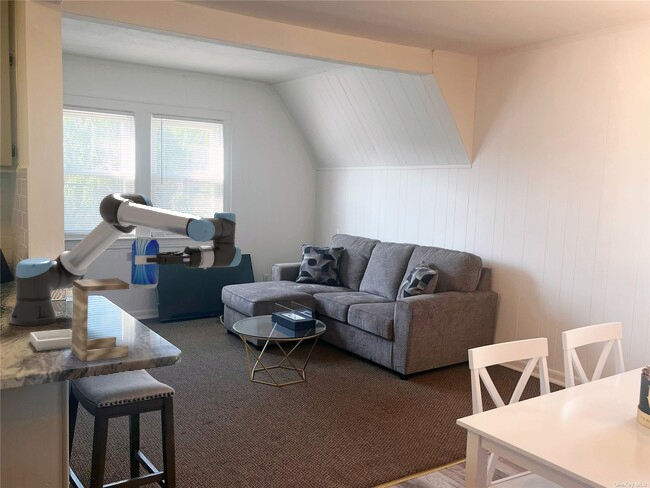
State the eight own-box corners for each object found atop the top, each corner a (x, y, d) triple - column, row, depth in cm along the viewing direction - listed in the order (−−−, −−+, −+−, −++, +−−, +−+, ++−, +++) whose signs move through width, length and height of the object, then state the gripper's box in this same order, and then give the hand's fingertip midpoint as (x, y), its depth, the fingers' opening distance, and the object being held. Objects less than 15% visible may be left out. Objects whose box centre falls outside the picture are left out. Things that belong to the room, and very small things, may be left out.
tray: (30, 341, 182) (30, 332, 182) (69, 337, 190) (70, 328, 190) (37, 350, 173) (37, 341, 172) (78, 346, 180) (79, 337, 180)
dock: (81, 361, 165) (83, 286, 163) (71, 350, 175) (72, 279, 173) (127, 355, 173) (129, 284, 171) (115, 345, 183) (116, 278, 181)
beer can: (136, 284, 185) (137, 236, 184) (161, 285, 185) (162, 237, 183) (126, 288, 177) (127, 238, 175) (153, 289, 176) (154, 239, 175)
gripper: (210, 272, 183) (141, 274, 169) (185, 263, 199) (120, 265, 185) (211, 249, 182) (142, 250, 168) (185, 242, 198) (121, 243, 185)
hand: (130, 258), depth 177 cm, fingers closed on beer can, 8 cm apart
